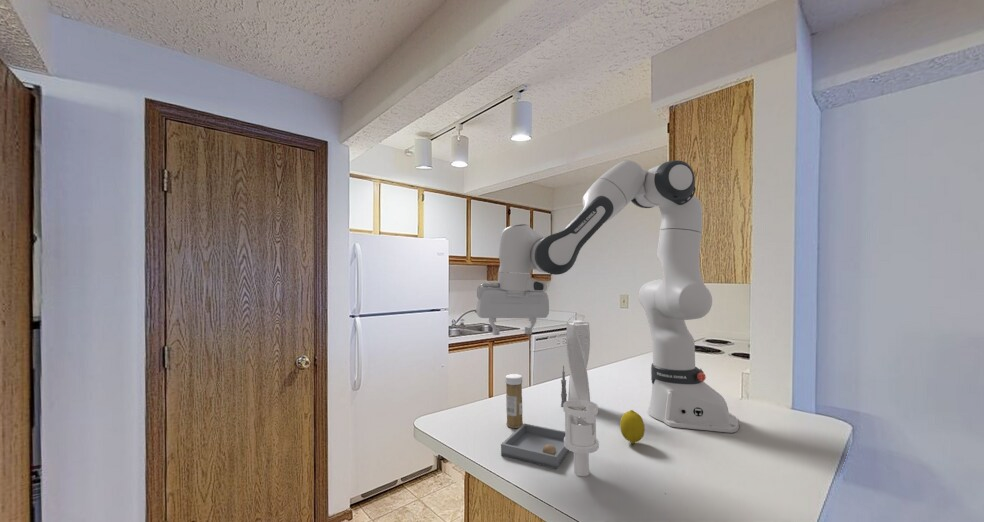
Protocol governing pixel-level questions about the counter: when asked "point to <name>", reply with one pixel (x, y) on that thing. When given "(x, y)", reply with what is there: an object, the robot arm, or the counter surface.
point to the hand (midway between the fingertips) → (512, 334)
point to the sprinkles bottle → (514, 400)
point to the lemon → (632, 426)
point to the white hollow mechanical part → (581, 433)
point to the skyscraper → (577, 362)
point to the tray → (535, 445)
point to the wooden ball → (549, 449)
